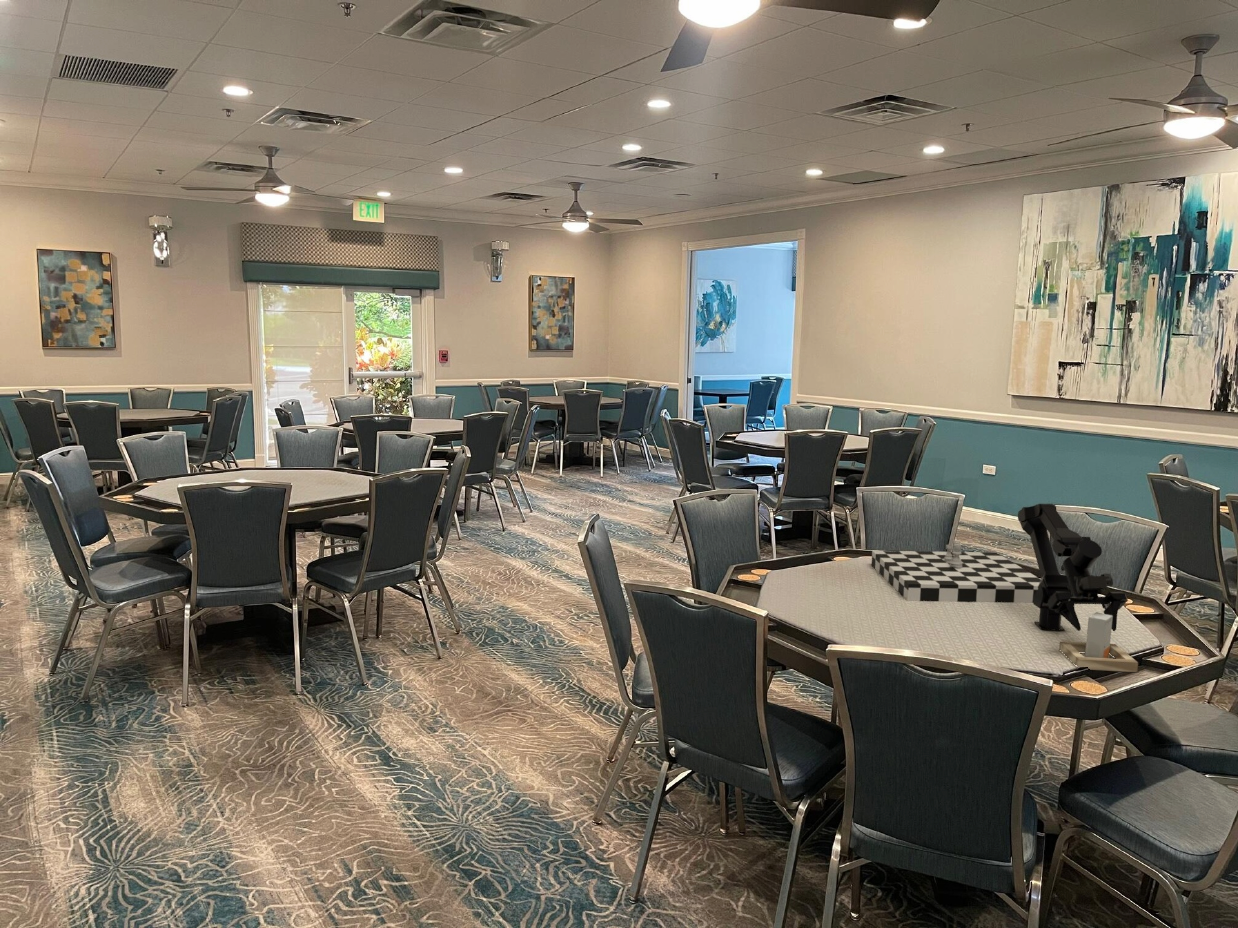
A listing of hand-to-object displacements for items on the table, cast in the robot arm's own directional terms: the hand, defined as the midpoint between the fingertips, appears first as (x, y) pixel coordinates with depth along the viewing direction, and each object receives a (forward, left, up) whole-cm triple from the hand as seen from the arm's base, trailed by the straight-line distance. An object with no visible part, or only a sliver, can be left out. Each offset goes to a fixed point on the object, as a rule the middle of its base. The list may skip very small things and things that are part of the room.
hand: (1097, 630), depth 234 cm
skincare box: (+1, 0, -8) cm, 8 cm away
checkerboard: (-72, -19, -9) cm, 75 cm away
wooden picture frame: (+1, 0, -8) cm, 8 cm away
